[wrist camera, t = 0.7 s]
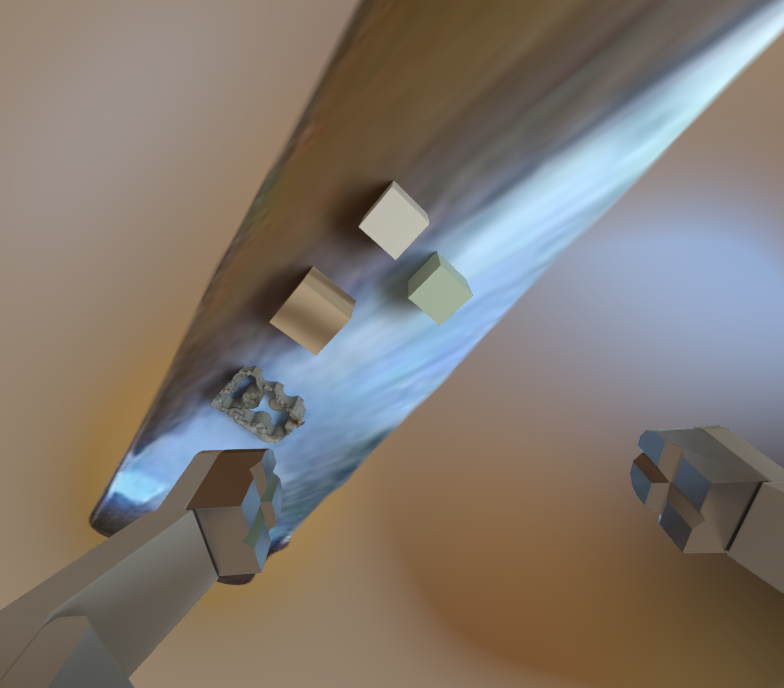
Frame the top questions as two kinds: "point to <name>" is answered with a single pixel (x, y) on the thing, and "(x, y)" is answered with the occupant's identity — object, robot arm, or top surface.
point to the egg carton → (251, 400)
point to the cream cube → (394, 220)
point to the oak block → (314, 311)
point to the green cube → (438, 289)
